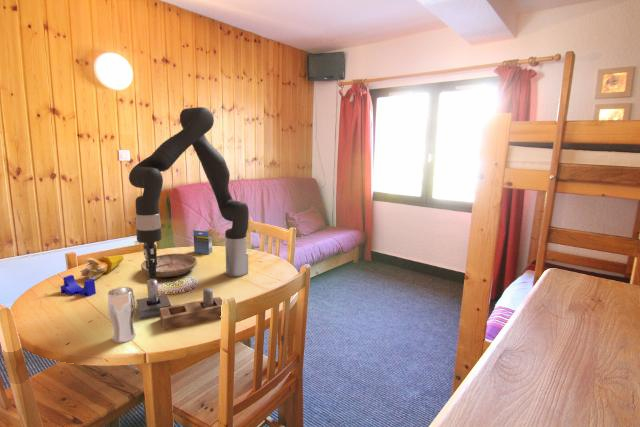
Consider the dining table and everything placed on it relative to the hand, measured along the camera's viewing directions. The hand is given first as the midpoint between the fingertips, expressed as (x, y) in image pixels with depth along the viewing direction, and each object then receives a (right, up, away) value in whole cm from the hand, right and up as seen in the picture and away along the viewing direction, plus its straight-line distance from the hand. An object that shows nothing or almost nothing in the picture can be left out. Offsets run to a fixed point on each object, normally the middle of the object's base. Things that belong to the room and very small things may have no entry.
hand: (151, 272), depth 124 cm
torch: (-37, -6, +36) cm, 51 cm away
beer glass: (-1, -17, -15) cm, 23 cm away
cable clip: (-35, -11, +14) cm, 39 cm away
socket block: (0, -14, +3) cm, 14 cm away
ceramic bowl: (-10, -6, +40) cm, 41 cm away
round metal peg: (0, -14, +3) cm, 14 cm away
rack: (+15, -15, -2) cm, 22 cm away
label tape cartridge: (-4, -1, +68) cm, 68 cm away
